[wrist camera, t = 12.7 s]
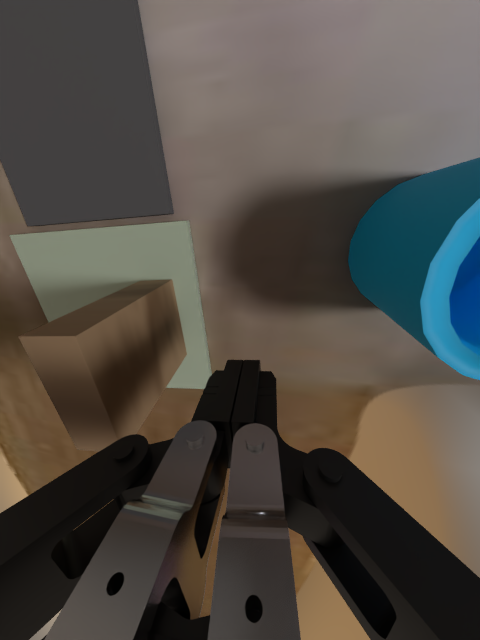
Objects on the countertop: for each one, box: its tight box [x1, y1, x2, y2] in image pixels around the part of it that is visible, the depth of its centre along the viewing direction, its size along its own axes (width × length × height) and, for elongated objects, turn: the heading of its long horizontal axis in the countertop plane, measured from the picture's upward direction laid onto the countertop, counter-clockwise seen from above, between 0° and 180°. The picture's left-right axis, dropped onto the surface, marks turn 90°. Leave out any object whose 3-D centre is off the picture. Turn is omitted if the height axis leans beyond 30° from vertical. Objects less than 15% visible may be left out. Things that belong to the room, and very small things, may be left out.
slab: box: [18, 279, 187, 451], centre depth 14 cm, size 6×3×9 cm, turn 4°
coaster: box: [0, 0, 174, 226], centre depth 14 cm, size 11×11×1 cm
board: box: [9, 221, 212, 389], centre depth 19 cm, size 14×14×1 cm
